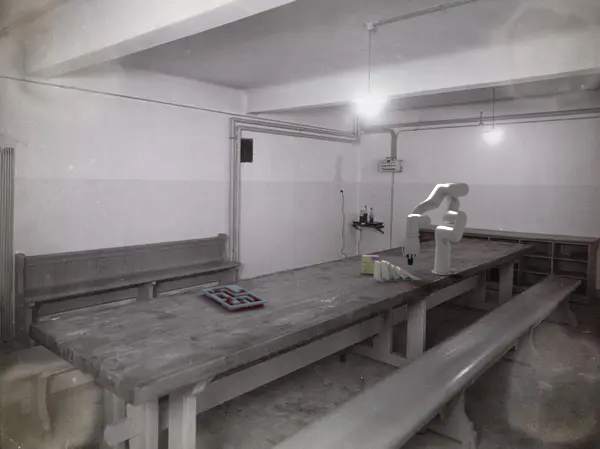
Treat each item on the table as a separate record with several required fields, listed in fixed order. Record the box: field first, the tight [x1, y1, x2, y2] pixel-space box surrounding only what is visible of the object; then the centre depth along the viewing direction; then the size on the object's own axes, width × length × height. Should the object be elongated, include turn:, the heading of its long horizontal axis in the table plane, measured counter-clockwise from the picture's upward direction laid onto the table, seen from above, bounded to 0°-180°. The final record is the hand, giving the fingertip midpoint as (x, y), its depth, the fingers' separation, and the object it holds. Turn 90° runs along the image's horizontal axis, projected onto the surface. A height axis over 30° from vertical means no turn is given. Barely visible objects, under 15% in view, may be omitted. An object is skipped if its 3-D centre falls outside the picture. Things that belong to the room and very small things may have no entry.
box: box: [360, 254, 380, 275], centre depth 296 cm, size 10×6×12 cm, turn 84°
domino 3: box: [385, 260, 398, 279], centre depth 280 cm, size 2×5×11 cm
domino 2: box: [380, 260, 390, 280], centre depth 279 cm, size 2×5×11 cm, turn 16°
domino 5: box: [395, 265, 415, 279], centre depth 283 cm, size 2×5×11 cm
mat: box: [367, 275, 422, 283], centre depth 282 cm, size 32×10×1 cm, turn 107°
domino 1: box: [373, 261, 382, 281], centre depth 277 cm, size 2×5×11 cm, turn 17°
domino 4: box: [391, 263, 406, 279], centre depth 282 cm, size 2×5×11 cm
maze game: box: [200, 284, 269, 313], centre depth 230 cm, size 35×20×3 cm, turn 34°
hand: (410, 264), depth 284 cm, fingers closed
